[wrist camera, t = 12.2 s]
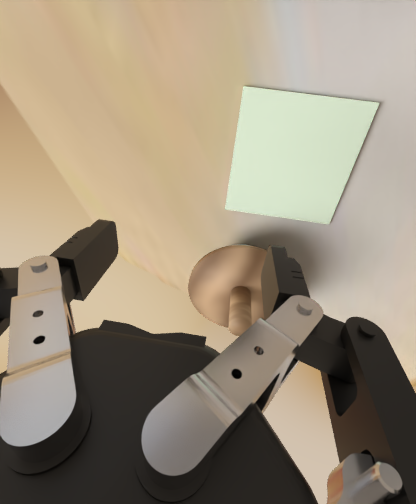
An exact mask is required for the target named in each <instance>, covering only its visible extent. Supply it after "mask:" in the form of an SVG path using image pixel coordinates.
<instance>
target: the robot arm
mask: <svg viewBox="0 0 416 504" xmlns="http://www.w3.org/2000/svg"><path fill="white" fill-rule="evenodd" d="M117 254H118V240H117V231H116V225H115V222H113V221H107V220H100V219H99V220H97V221H96V222H95V223H94V224H93V225H91V227H87V228H85V229H82V230H80V231H78V232H77V233H75V235H73V236H72V238H70V239H68V240H67V242H65V243H64V244H63V245H61V246H60V247H59V248H58V249H57V250H56V251H54V252H53V253H52V254H51V255H50V256H38V257H34V258H31V259H28V260H26V261H25V262H23V263H22V264H21V265H20V266H19V268H0V336H1V334H2V333H3V332H4V331H5V330H6V329H7V328H8V327H9V326H10V331H9V348H8V365H7V370H6V371H5V372H3V373H1V374H0V504H318V503H317V500H316V498H315V496H314V494H313V492H312V490H311V488H310V486H309V485H308V483H307V481H306V480H305V478H304V477H303V475H302V473H301V472H300V470H299V469H298V467H297V466H296V464H295V463H294V461H293V460H292V458H291V456H290V455H289V453H288V452H287V450H286V449H285V447H284V446H283V444H282V443H281V441H280V439H279V438H278V436H277V435H276V433H275V432H274V430H273V429H272V427H271V426H270V424H269V423H268V421H267V419H266V418H265V416H264V415H263V412H264V411H265V409H266V408H267V407H268V405H269V403H270V402H271V401H272V399H273V397H274V395H275V394H276V392H277V391H278V390H279V388H280V387H281V385H282V384H283V383H284V381H285V380H286V379H287V377H288V376H289V375H290V373H291V372H292V371H293V369H294V368H295V367H296V365H297V364H298V363H299V361H301V362H303V363H305V364H307V365H310V366H312V367H314V368H316V369H318V370H320V371H321V376H322V381H323V386H324V390H325V395H326V400H327V405H328V409H329V414H330V419H331V423H332V428H333V433H334V438H335V442H336V447H337V452H338V457H339V461H340V464H339V465H338V466H337V467H336V468H335V469H334V470H333V471H332V472H331V473H330V475H329V478H328V482H327V490H328V499H327V504H416V393H415V391H414V389H413V387H412V385H411V383H410V381H409V380H408V378H407V376H406V374H405V372H404V370H403V368H402V366H401V364H400V362H399V360H398V358H397V356H396V354H395V352H394V350H393V348H392V346H391V344H390V342H389V340H388V338H387V336H386V335H385V333H384V332H383V330H382V329H381V328H380V327H378V326H377V325H376V324H374V323H373V322H371V321H369V320H367V319H364V318H361V317H351V318H349V319H348V320H347V321H346V323H343V322H340V321H338V320H335V319H333V318H330V317H328V316H326V315H324V314H323V310H322V308H321V306H320V305H319V304H318V303H317V302H316V301H314V300H313V299H311V298H310V295H309V292H308V289H307V285H306V282H305V280H304V276H303V274H302V270H301V267H300V265H299V264H298V263H297V261H296V260H295V259H294V258H288V257H287V253H286V249H285V247H279V246H272V245H270V246H269V247H268V250H267V254H266V258H265V261H264V265H263V268H262V273H261V289H262V300H263V311H264V319H263V318H260V319H258V320H257V321H256V322H255V323H254V324H253V325H251V326H250V327H249V328H248V329H247V330H246V331H245V332H244V333H243V334H242V335H240V336H239V337H238V338H237V339H236V340H235V341H234V342H233V343H232V344H231V345H229V346H228V347H227V348H226V349H225V350H224V351H223V352H222V353H221V354H220V353H218V352H217V351H216V350H214V349H213V348H210V347H209V346H206V345H205V341H206V337H204V336H198V335H192V334H185V333H166V334H151V333H149V332H146V331H144V330H142V329H139V328H137V327H135V326H132V325H130V324H126V323H120V322H113V321H108V320H104V321H103V322H102V324H101V326H100V327H99V328H93V329H88V330H84V331H80V332H78V333H76V331H75V325H74V320H73V315H72V309H71V305H70V302H71V301H72V300H73V299H75V300H82V301H84V299H85V298H86V297H87V296H88V294H89V293H90V292H91V290H92V289H93V288H94V286H95V285H96V284H97V282H98V281H99V280H100V278H101V277H102V276H103V274H104V273H105V272H106V270H107V269H108V268H109V267H110V265H111V264H112V263H113V261H114V260H115V258H116V257H117Z"/></svg>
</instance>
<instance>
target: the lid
mask: <svg viewBox="0 0 416 504" xmlns="http://www.w3.org/2000/svg"><path fill="white" fill-rule="evenodd" d="M266 254H267V250H265V249H262V248H259V247H255V246H249V245H232V246H226V247H222V248H219V249H216V250H214V251H212V252H210V253H208V254H207V255H205V256H204V257H203V258H202V259H201V260H200V261H198V263H197V264H196V265H195V267H194V269H193V270H192V273H191V276H190V279H189V284H188V291H189V296H190V299H191V301H192V303H193V305H194V307H195V308H196V309H197V310H198V312H199V313H200V314H202V315H203V316H204V317H205V318H207V319H208V320H210V321H212V322H214V323H216V324H218V325H221V326H224V327H228V328H229V331H230V332H231V333H232V334H234V335H236V336H240V335H242V334H243V333H244V332H245V331H246V330H247V329H248V328H249V327H250V326H251V325H253V324H254V323H255V322H256V321H257V320H258V319H260V318H263V319H264V311H263V300H262V289H261V273H262V268H263V265H264V261H265V258H266Z"/></svg>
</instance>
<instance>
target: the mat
mask: <svg viewBox="0 0 416 504" xmlns="http://www.w3.org/2000/svg"><path fill="white" fill-rule="evenodd" d="M378 106H379V103H377V102H369V101H361V100H353V99H345V98H337V97H328V96H320V95H312V94H304V93H296V92H288V91H280V90H271V89H263V88H255V87H247V86H244V87H243V93H242V100H241V106H240V113H239V120H238V126H237V133H236V140H235V146H234V153H233V159H232V166H231V173H230V179H229V186H228V192H227V199H226V206H225V210H232V211H239V212H246V213H253V214H260V215H267V216H274V217H281V218H288V219H295V220H302V221H309V222H316V223H322V224H329V223H330V221H331V219H332V216H333V214H334V211H335V209H336V207H337V204H338V202H339V199H340V197H341V195H342V192H343V190H344V187H345V185H346V183H347V180H348V178H349V175H350V173H351V171H352V168H353V166H354V163H355V161H356V158H357V156H358V154H359V151H360V149H361V146H362V144H363V142H364V139H365V137H366V134H367V132H368V130H369V127H370V125H371V122H372V120H373V118H374V115H375V113H376V110H377V108H378Z"/></svg>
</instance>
